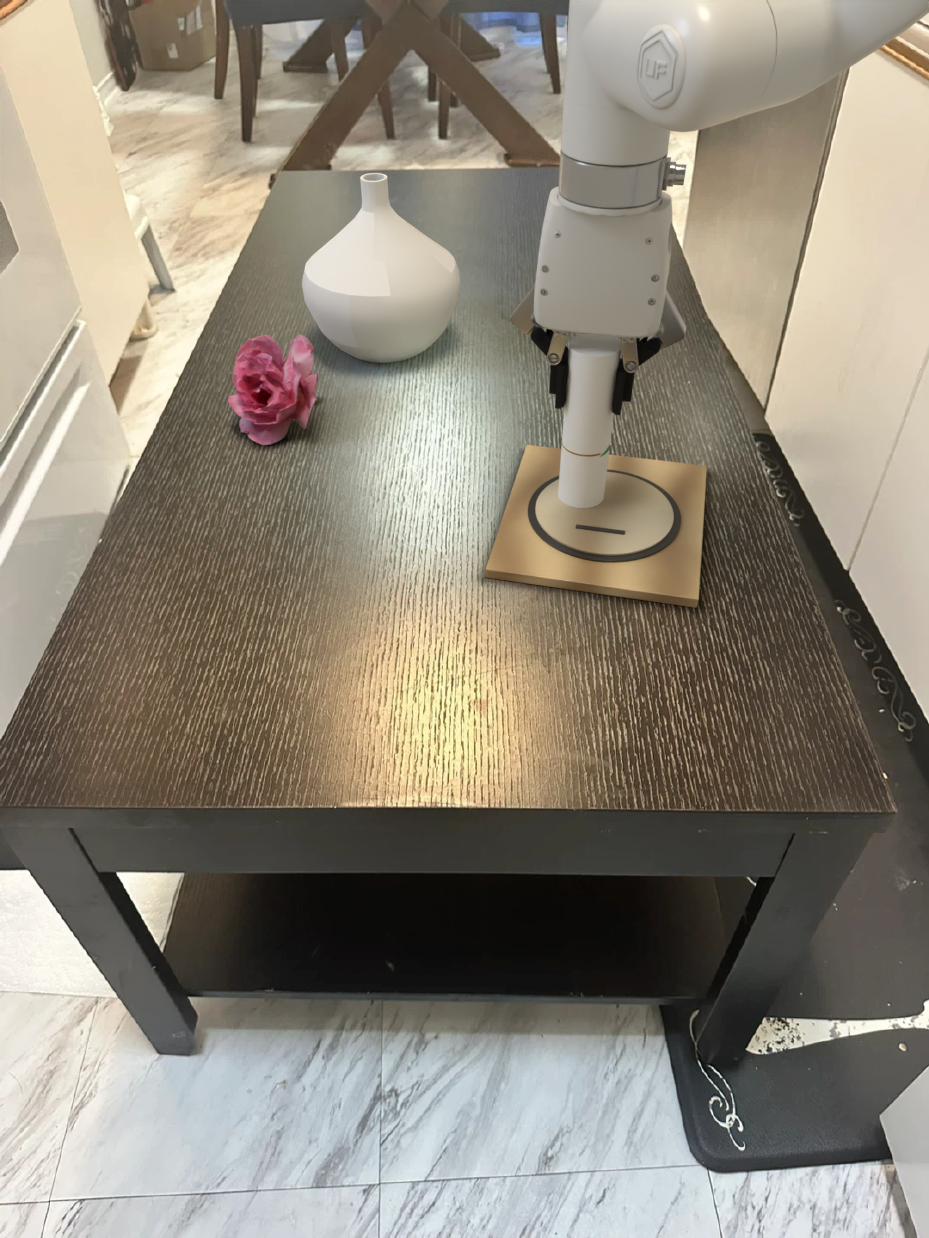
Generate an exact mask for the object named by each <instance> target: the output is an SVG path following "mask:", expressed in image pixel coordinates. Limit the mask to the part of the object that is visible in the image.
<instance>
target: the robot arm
mask: <svg viewBox="0 0 929 1238" xmlns="http://www.w3.org/2000/svg"><path fill="white" fill-rule="evenodd" d="M928 14H929V0H569V1H568V16H567V17H568V18H567V33H566V34H567V36H566V50H565V51H566V52H565V53H566V54H565V71H564V89H563V100H562V102H563V104H562V120H561V121H562V122H561V137H560V140H561V141H560V155H559V157H560V158H559V171H558V186H556V187H553V188H551V190H550V192H549V195H548V199H547V203H546V207H545V214H544V218H543V222H542V228H541V233H540V242H539V248H538V254H537V255H538V256H537V263H536V264H537V266H536V274H535V282H534V283H533V284H532V286H531V287H530V289H528V291H527V292H526V294H525V295H524V296H523V297H522V299H521V300H520V302H519V303H517V305H516V307H515V308H514V309H513V311H512V313H511V315H510V318H509V321H510V323H511V325H513V327H515V328H516V329H518V330H519V331H521V332H522V333H523V334H524V335H525V336H528V337H529V338H530V341H532V342H533V343H534V344H535V346H536V347H537V348H538V349H539V350H540V352H542V354H544V355H545V356H546V361H547V363H548V364H549V365H550V369H549V385H548V394H549V395H555V402H554V409H555V410H561V409H564V406H565V396H566V383H567V369H568V352H569V346H567V342H568V339H569V336H570V333H571V334H572V333H573V334H593V335H604V336H613V337H615V338H620V339H619V340H620V342H621V357H620V364H619V367H618V369H617V374H616V382H615V391H614V399H613V408H612V413H614V415H613V416H621V413H622V408H623V403H624V402H626V403H631V401H632V396H633V389H634V381H635V375H636V374H635V373H636V372H637V371H638V370H639V367H640V366H642V365H643V364H645V363H646V362H647V361H649V360H650V359H651V358H654V357H655V355H657V354H658V353H659V352H660V351H661V350H663V349H666V348H668V347H671V346H672V345H675V344H677V343H679V342H680V341H683V339H685V337H686V333H687V332H686V331H687V326H686V323H685V321H684V319H683V318H682V315H681V314H680V312H679V310H678V308H677V306H676V305H675V303H674V301H673V299H672V297H671V295H670V293H669V291H668V284H669V276H670V266H671V256H672V255H671V254H672V245H673V202H672V196H671V195H670V194H669V193H667V189H668V187H671V188H673V187H674V186H684V185H685V179H686V171H687V164H681V163H677V161H672V157H671V156H668V153H669V144H670V137H671V131H672V132H676V133H690V132H696V131H700V130H704V129H708V128H711V127H715V126H718V125H721V124H724V123H728V122H731V121H734V120H736V119H739V118H741V117H745V116H748V115H751V114H755V113H759V112H762V111H765V110H767V109H768V110H769V109H771V108H775V107H779V106H782V105H786V104H789V103H792V102H794V101H795V100H798V99H800V98H802V97H804V96H805V95H808V94H809V93H811V92H813V91H815V90H816V89H818V88H819V87H822V86H823V85H825V84H827V83H828V82H830V81H831V80H833V79H834V78H836V77H838V76H839V75H840V74H842V73H844V72H845V71H847V70H848V69H850V68H851V67H853V66H854V65H856V64H857V63H859V62H861V61H862V60H863V59H865V58H867V57H869V56H870V55H872V54H873V53H875V52H876V51H878V50H879V49H880V48H883V47H884V46H885V45H887V44H888V43H890V42H891V41H893V40H894V39H896V38H897V37H899V36H900V35H902V34H903V33H904V32H906V31H907V30H909V29H910V28H911V27H913V26H914V25H915V24H917V23H918V22H919V21H920V20H921V19H923V18H924V17H926V16H927V15H928ZM661 324H662V325H663V326H662V327H660V325H661ZM653 356H654V357H653Z"/></svg>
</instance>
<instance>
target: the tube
mask: <svg viewBox="0 0 929 1238" xmlns="http://www.w3.org/2000/svg"><path fill="white" fill-rule="evenodd" d="M568 350H569V352H568V369H567V383H566V396H565V405H564V408H563V421H562V434H561V435H562V436H561V448H560V449H561V460H560V474H559V487H558V497H559V499H560V500H561V501H562V502H563V503H564V504H566V505H568V506H571V507H574V508H591V507H595V506H597V505H599V504H600V503H601V502H602V501H603V499H604V492H605V483H606V475H607V466H608V458H609V454H610V449H611V441H612V440H611V439H612V432H613V423H614V416H615V415H614V413H612V408H613V399H614V391H615V382H616V374H617V369H618V367H619V364H620V358H621V356H622V348H621V340H620V339H618V337H615V336H604V335H593V334H582V333H579V334H577V335H575V336H573V337H571V338H570V340H569V343H568Z"/></svg>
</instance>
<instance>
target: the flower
mask: <svg viewBox="0 0 929 1238" xmlns="http://www.w3.org/2000/svg"><path fill="white" fill-rule="evenodd" d="M289 348H290V349H289V351H288V352H287V354H286V356H285V359H284V354H283V351H282V348H281V347H280V346H279V344H278V343H277V342H276V341H275V340H274V338H273V337H272V336H271V335H270V334H265V335H259V336H256V337H251V338H248V339H246V341H244V343H243V344H242V346H241V347H239V349H238V351H237V352H236V355H235V357H236V358H235V360H234V366H233V370H232V379H231V380H232V384H233V386H234V389H235V390H236V393H233V394H231V395H229V396H228V399H227V401H228V402H227V403H228V404H229V406H230V407H231V409H232V411H233V412H235V415H237V416H239V417H240V420H239V424H238V426H239V429H240V433H245V434H246V435H247V437H248V439H250V440H251V441H253V442H255V443H257V444H259V445H260V446H269V445H272V444H275V443H277V442H280V441H282V440H283V439H284V438H285V437H286V435H287V433H288V431H289V428H290V426H291V424H292V422H293V421H296V422H297V424H298V425H299V426H300V427H301V428H302V429H307V427H308V426H309V425H308V424H309V421H310V417H311V414H312V413H311V412H312V410H313V407H314V404H315V402H316V401H319V399H318V398H317V390H318V389H317V388H318V382H319V381H318V380H319V373H318V372H316V373H313V367H314V364H315V363H314V362H315V358H314V356H315V355H314V346H313V344H312V342H311V341H310V340H309V339H308V338H307V337H306V336H305V335H303V334H302V333H299V334H297V335H296V337H295V338H292V340H291V342H290V345H289Z"/></svg>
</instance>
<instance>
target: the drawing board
mask: <svg viewBox="0 0 929 1238" xmlns="http://www.w3.org/2000/svg"><path fill="white" fill-rule="evenodd" d="M560 460H561V448H559V447H558V448H557V447H550V446H549V447H548V446H542V445H541V446H540V445H532V444H526V446H525V449H524V450H523V454H522V458H521V460H520V463H519V467H518V469H517V470H518V471H517V472H516V476H515V478H514V481H513V484H512V488H511V491H510V494H509V497H508V500H507V503H506V506H505V509H504V511H503V515H502V518H501V521H500V524H499V527H498V530H497V533H496V535H495V540H494V543H493V545H492V548H491V552H490V555H489V558H488V561H487V564H486V567H485V578H486V579H494V580H501V581H507V582H514V583H520V584H521V583H522V584H529V585H536V586H541V587H549V588H556V589H561V590H563V589H564V590H570V591H575V592H576V591H577V592H583V593H592V594H599V595H603V596H611V597H619V598H624V599H625V598H626V599H631V600H639V601H645V602H653V603H660V604H668V605H672V606H673V605H675V606H681V607H688V608H695V609H696V608H697V607H698V604H699V600H700V587H701V568H702V553H703V552H702V551H703V537H704V523H705V522H704V520H705V505H706V504H705V503H706V490H707V489H706V487H707V472H708V465H703V464H694V463H687V462H677V461H668V460H662V459H661V460H660V459H653V458H652V459H651V458H642V457H634V456H627V455H619V454H610V453H609V458H608V466H607V475H606V483H605V492H604V499H603V501H602V502H601V503H600V504H599V505H597V506H595V507H591V508H574V507H571V506H568V505H566V504H564V503H563V502H562V501H561V500H560V499H559V497H558V487H559V474H560Z"/></svg>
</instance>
